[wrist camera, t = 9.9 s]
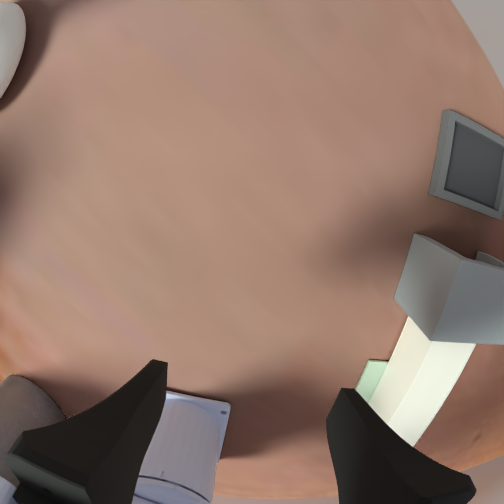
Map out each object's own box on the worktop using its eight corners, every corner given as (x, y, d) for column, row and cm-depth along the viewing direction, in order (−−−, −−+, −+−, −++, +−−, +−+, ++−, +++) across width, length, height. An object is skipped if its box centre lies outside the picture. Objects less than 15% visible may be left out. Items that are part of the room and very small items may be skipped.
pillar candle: (79, 443, 28) (33, 536, 13) (22, 424, 28) (-29, 498, 13) (51, 383, 25) (-22, 484, 10) (-7, 365, 25) (-77, 440, 10)
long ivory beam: (396, 422, 25) (409, 451, 21) (356, 423, 25) (366, 455, 21) (451, 317, 21) (476, 341, 18) (410, 312, 21) (433, 339, 17)
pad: (404, 428, 26) (404, 429, 25) (334, 429, 25) (334, 431, 25) (442, 363, 23) (443, 364, 23) (368, 359, 23) (369, 361, 23)
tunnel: (467, 309, 22) (506, 344, 16) (393, 298, 21) (429, 340, 15) (487, 253, 20) (534, 279, 14) (414, 233, 20) (461, 259, 14)
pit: (493, 218, 19) (501, 220, 18) (428, 194, 19) (435, 195, 18) (507, 145, 17) (514, 145, 17) (442, 111, 17) (449, 109, 16)
